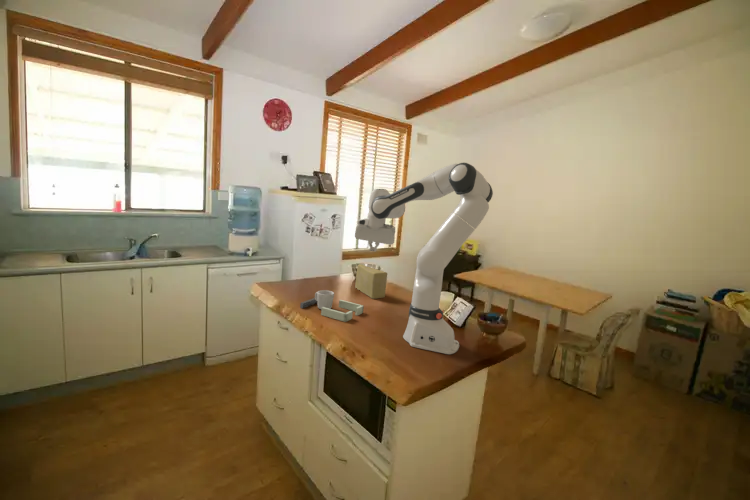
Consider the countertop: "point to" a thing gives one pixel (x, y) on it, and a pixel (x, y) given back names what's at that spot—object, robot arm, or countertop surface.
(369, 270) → the khaki rectangular box
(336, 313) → the cradle
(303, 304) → the rail
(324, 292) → the cup
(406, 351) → the countertop surface
